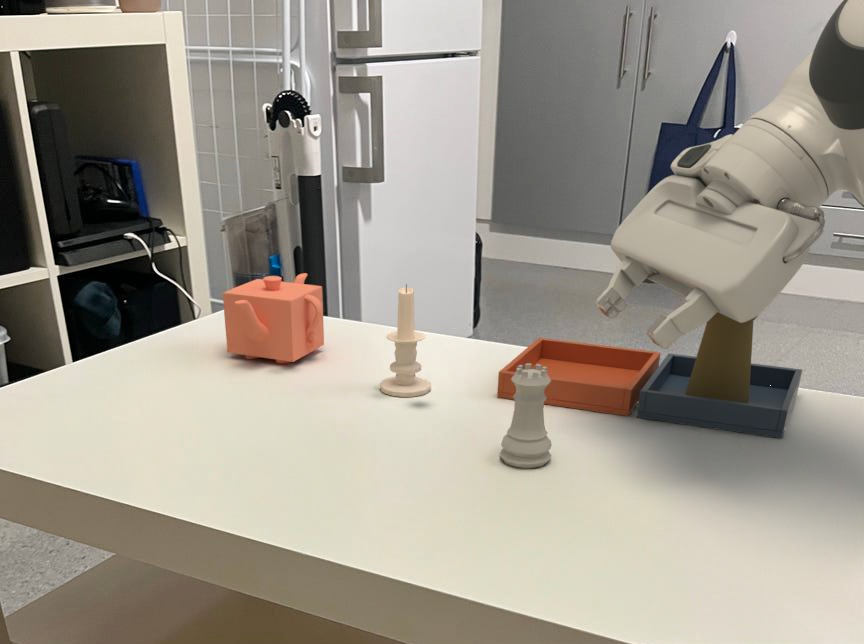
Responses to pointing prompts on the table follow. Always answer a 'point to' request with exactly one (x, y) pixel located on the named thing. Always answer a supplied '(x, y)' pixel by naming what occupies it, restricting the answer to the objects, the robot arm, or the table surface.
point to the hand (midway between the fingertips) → (627, 326)
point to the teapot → (274, 319)
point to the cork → (723, 361)
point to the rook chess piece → (528, 420)
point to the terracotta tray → (585, 374)
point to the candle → (405, 352)
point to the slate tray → (757, 417)
